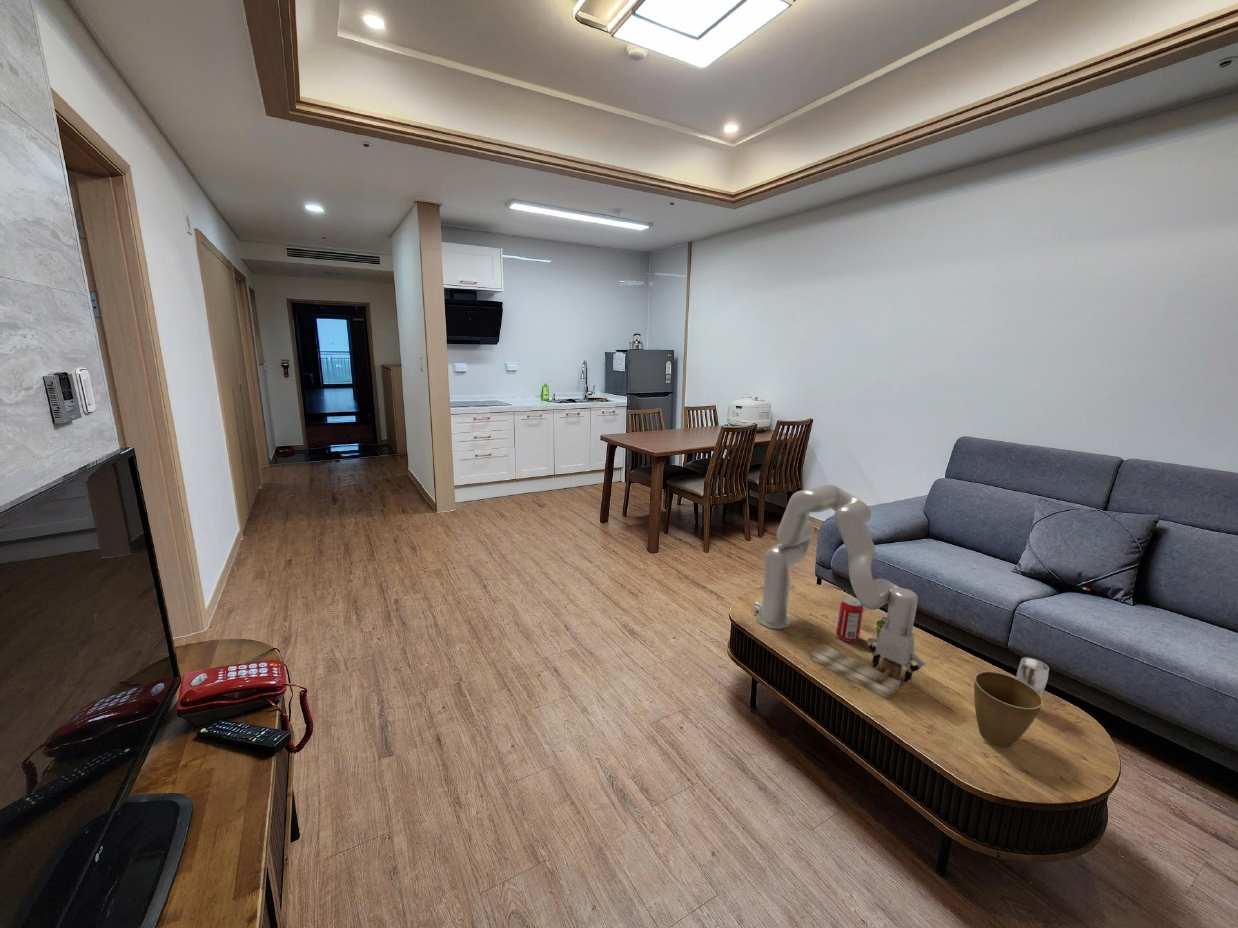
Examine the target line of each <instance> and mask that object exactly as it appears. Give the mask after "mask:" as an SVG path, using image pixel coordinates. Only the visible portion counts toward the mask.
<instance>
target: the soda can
mask: <svg viewBox="0 0 1238 928" xmlns="http://www.w3.org/2000/svg"><path fill="white" fill-rule="evenodd" d="M839 603H840V604H839V611H838V617H837V625H836V629H835V630H836V631H835V632H836V636H837V637H838V638H840V639H841V640H843V641H845V642H852V643H853V642H854V643H855V642H857V641H859V639H860V635H861V630H862V629H861V627H862V622H863V617H864V610H865V609H864V608H865V607H864V606H863V605H862V604H861V603H860V602H859V600H858V599H857V597H851V596H846V597H842V600H841V601H840V602H839Z"/></svg>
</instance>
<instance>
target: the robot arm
mask: <svg viewBox="0 0 1238 928" xmlns="http://www.w3.org/2000/svg"><path fill="white" fill-rule="evenodd" d="M827 510H828V511H829V510H833V511H834V516H833V517H834V521H835V524H836V527H837V528H838V529H837V530H838V531H839V534H840V536H841V539H842V541H843V543H844V544H843V545H844V546H845V549H846V552H847V553H848V576H849V581H850V584H851V586H852V590H853V592H854V595H855V598H856V599H858V600H859V602H860V603H861V604H862V605H863V607H864V608H866V609H868V610H877V609H880V608H881V607H882V606H884V605H886V604H887V605H888V609H887V614H886V616H882V617H881V619H882V620H883V621H884V622H885V624H884V625H883V626H882V628H881V630H880V633H879V637H878V638H877V637H868V638H867V639H866V642H867V645H868V648H869V650H870V652H871V654H872V661H871V662H872V668H873V669H875V668H877V667H878V666H879V665H880V661H881V657H883V658H887V659H889V660H891V661H894V662H896V663H898V664H900V665H902V667H903V666H904V667H905V669H906V670H905V672H904V678H903V682H904V683H907V682H908V681H911V680H912V679H913V673H914V672H916V671H919V670H920V669H922V667H924V666H925V664H926V663H925V662H924V660H922V659H921V658H920V657H919V656H918V655H917V654H915V635H914V633H913V629H914V623H915V617H916V614H917V613H916V612H917V608H918V607H917V606H918V600H919V599H918V598H919V597H918V594H917V593H916V592H914V591H912V590H911V589H908V588H903V587H900V586H898V585H897V584H895V583H893V582H891V581H889V580H887V579H885V578H876V579H874V578H873V574H872V562H873V558H874V556H875V550H876V546H875V543H874V542H873V540H872V537H871V534H870V532H869V529H868V527H867V523H868V522H869V521H870V519H871V518H872V511H871V509H870V507H869V505H867V503H865V502H864V501H862V500H861V499H860V498H858V497H856V496H855V495H852V494H851V493H849V492H847V491H845V490H844V489H842V488H840V487H838V486H835V485H832V484H824V485H822V486H818V487H815V488H812V489H803V490H799V491H798V490H797V491H796V492H794V493H793V494H792V495H791V497H790V498H789V500H788V503H787V506H786V508H785V511H784V513H783V516H782V518H781V521H780V524H779V526H778V529H777V532H776V539H777V542H778V544H775V545H773V546H771V547H769V548H768V549H767V551H766V552H765V554H764V556H763V557H764V558H763V563H764V580H763V581H764V582H763V583H764V584H763V592H762V600H761V601H762V602H761V603H760V602H758V601H754V604H753V609H754V610H756V611H758V613H756V620H757V621H758V623H759V624H761V625H763V626H764V627H766V628H769V629H775V630H781V629H783V630H784V629H786V628H788V627H789V626H790V624H791V619H790V618H789V617H788V615H787V613H788V606H789V599H790V597H789V596H790V588H791V576H790V571H789V570H790V568H792V567H793V566H795V565H797V564H799V563H800V562H802V561H803V560H804V558H805V556H806V554H807V552H808V549H809V547H810V544H811V542H812V540H813V536H814V532H815V529H814V526H813V524H812V521H810V519H809V518H810V514H812V513H822V512H825V511H827ZM875 644H876V645H875ZM913 660H914V662H915V663H916V664H914V663H913V662H912V661H913Z"/></svg>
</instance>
